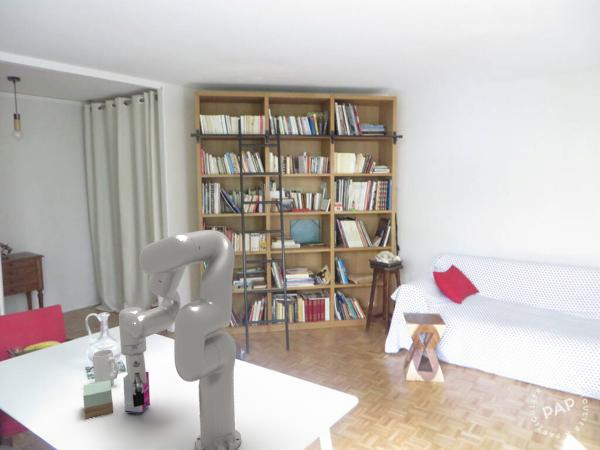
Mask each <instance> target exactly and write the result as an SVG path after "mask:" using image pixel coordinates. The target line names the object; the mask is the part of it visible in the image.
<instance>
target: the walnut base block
mask: <svg viewBox="0 0 600 450" xmlns="http://www.w3.org/2000/svg"><path fill="white" fill-rule="evenodd" d="M113 402H114V401H113V400H112V402H111V403H106V404H101V405H97V406H92V407H88V408H84V414H85V415H84V417H85V420H86V419H87V420H90V419H89V418H91V419H94V418H93V417H95V418H99V417H103V416H107V415H111V414H114V403H113ZM102 415H103V416H102ZM98 416H99V417H98Z"/></svg>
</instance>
